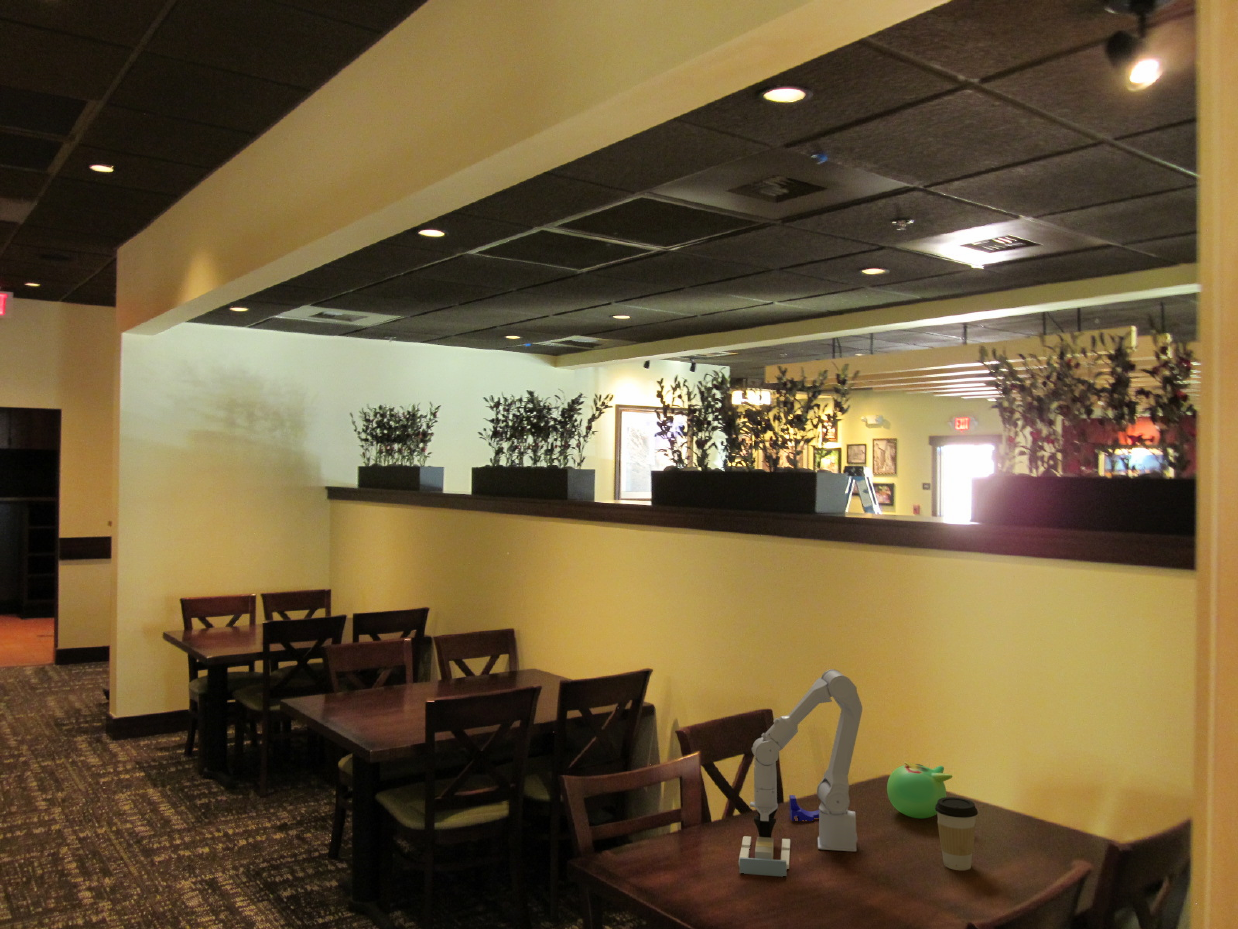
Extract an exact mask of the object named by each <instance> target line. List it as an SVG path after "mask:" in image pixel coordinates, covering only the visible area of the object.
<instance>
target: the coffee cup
mask: <svg viewBox="0 0 1238 929" xmlns="http://www.w3.org/2000/svg"><path fill="white" fill-rule="evenodd" d="M935 810H936V811H937V814H936V815H937V827H938V828H937V830H938V834H939V842H940V849H941V852H942V860H943V865H944V867H946V868H947V869H951V870H954V871H967V870H970V869H971V867H972V858H973V854H974V847H975V846H974V844H975V836H976V834H975V833H976V820H977V819H976V818H977V817H976V816H977V815H978V814H979V812H978V808H977V807H976V805H975V803H974V801H971V800H969V799H967V798H961V797H955V796H954V797H953V796H951V797H950V796H946V797H945V798H941V799H939V800H938V802H937V804H936V806H935Z"/></svg>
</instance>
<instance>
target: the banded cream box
mask: <svg viewBox="0 0 1238 929" xmlns="http://www.w3.org/2000/svg"><path fill="white" fill-rule="evenodd" d="M754 848H755V849H754V858H758V859H773V860H774V837H771V838H769V837H759V836H757V837H756V842H755V847H754Z"/></svg>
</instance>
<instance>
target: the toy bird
mask: <svg viewBox="0 0 1238 929" xmlns="http://www.w3.org/2000/svg"><path fill="white" fill-rule="evenodd" d="M903 763H904V764H903V765H900V766H899V767H896V768H895V769H894V770H893V771H892V772H891V774H890V775H889V777H888V780H887V786H886V792H887V797H888V800H889V802H890V804H891V805H892V806H893V807H894V809H896V810H897V811H898V812H900V813H901V814H903V815H904V816H906V817H910V818H914V819H928V818H932V817H934V816H936V815H937V811H936V810H935V806H936V804H937V802H938V800H939V799H941V798H945V797H947V789H946V785H945V782H946V781H948V780H950V779H952V778H953V774H950V773H944V771H945V767H944V765H938V766H936V767H934V768H930V767H927V766H925V765H923V764H920V763H912V762H909V761H906V760H904V761H903Z"/></svg>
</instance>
